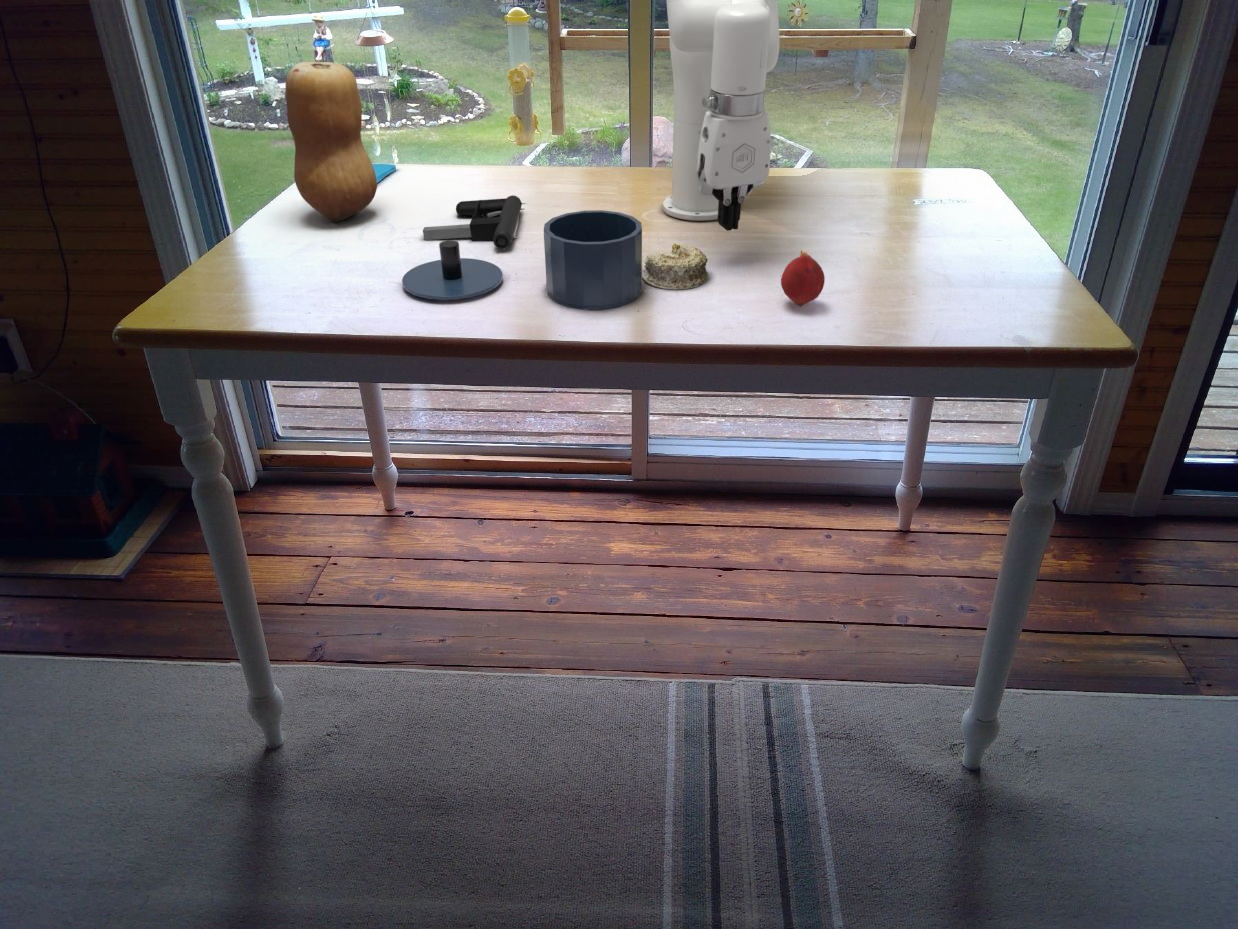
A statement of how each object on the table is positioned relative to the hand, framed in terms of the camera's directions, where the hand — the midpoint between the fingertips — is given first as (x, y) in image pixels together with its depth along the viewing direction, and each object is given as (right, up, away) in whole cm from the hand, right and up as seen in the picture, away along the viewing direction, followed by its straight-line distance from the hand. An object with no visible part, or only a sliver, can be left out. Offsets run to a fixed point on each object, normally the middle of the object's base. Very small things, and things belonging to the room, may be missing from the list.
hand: (728, 226), depth 142 cm
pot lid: (-41, -9, -5) cm, 42 cm away
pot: (-20, -11, -7) cm, 24 cm away
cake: (-8, -8, -3) cm, 12 cm away
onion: (+9, -14, -12) cm, 20 cm away
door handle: (-41, +3, +14) cm, 43 cm away
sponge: (-65, +19, +40) cm, 78 cm away
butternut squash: (-65, +7, +21) cm, 69 cm away
